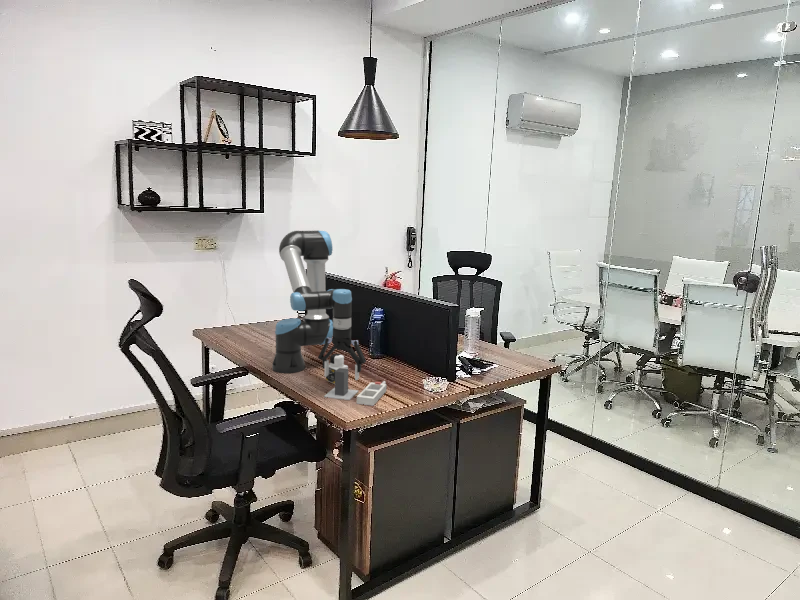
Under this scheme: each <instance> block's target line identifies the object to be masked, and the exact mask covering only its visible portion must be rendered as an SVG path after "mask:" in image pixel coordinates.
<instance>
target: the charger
mask: <svg viewBox="0 0 800 600" xmlns="http://www.w3.org/2000/svg"><path fill="white" fill-rule="evenodd" d="M334 388H335V395H341V396H344V395H345V394H346V393H347V392H348V389H349V368H348V369H344V368H339V369H337V370H336V371H335V384H334Z"/></svg>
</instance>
